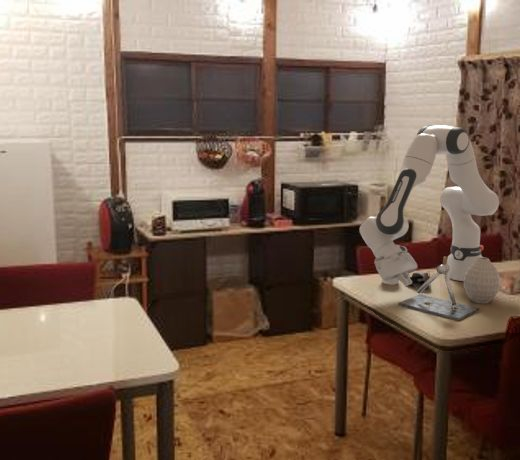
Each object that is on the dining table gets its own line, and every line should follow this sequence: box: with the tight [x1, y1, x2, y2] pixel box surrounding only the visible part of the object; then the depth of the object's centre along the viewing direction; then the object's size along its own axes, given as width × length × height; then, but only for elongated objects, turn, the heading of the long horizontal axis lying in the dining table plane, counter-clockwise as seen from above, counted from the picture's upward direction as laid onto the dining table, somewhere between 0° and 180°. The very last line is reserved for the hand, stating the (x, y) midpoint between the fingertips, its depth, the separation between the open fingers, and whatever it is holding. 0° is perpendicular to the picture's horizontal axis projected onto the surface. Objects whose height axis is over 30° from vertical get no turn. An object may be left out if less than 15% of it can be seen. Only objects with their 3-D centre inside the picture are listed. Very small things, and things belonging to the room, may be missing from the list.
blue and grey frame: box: [398, 256, 480, 322], centre depth 219 cm, size 15×24×19 cm, turn 45°
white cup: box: [381, 278, 399, 286], centre depth 252 cm, size 8×8×10 cm
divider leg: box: [416, 264, 447, 295], centre depth 220 cm, size 2×3×15 cm
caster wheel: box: [410, 271, 432, 289], centre depth 248 cm, size 7×11×10 cm
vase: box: [463, 256, 501, 304], centre depth 227 cm, size 13×13×17 cm
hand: (409, 284), depth 227 cm, fingers closed
